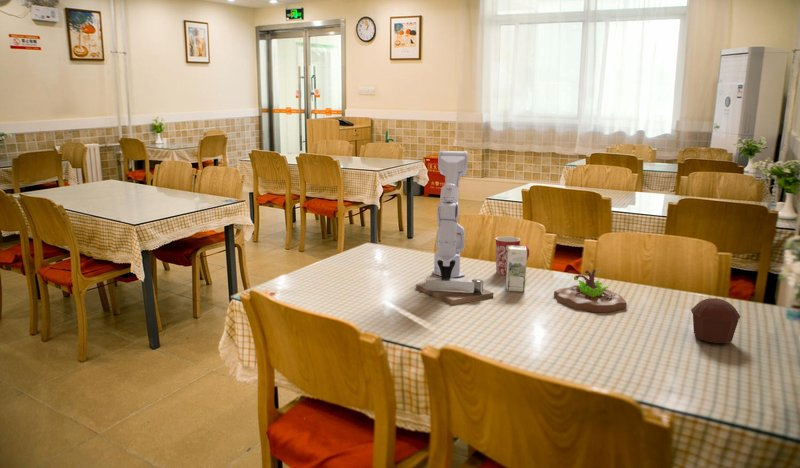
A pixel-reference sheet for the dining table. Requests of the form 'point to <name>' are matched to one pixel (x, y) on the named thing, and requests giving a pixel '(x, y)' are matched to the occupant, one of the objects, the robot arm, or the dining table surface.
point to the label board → (455, 294)
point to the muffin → (715, 320)
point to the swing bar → (454, 284)
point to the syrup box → (516, 268)
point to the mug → (505, 252)
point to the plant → (590, 296)
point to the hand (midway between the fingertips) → (445, 282)
